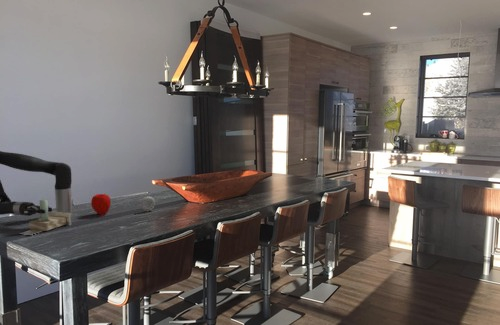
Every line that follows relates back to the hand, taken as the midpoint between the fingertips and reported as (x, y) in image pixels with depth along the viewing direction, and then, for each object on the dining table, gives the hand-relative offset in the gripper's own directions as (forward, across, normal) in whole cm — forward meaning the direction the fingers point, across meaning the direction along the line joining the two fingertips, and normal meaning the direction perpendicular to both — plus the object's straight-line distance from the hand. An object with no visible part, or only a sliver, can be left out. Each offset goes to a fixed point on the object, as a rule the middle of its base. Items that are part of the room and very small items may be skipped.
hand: (48, 210), depth 223 cm
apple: (+5, +37, +11) cm, 39 cm away
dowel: (-3, 0, +8) cm, 9 cm away
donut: (+29, +53, +11) cm, 62 cm away
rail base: (-3, -2, +10) cm, 11 cm away
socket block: (-3, +2, +10) cm, 11 cm away
